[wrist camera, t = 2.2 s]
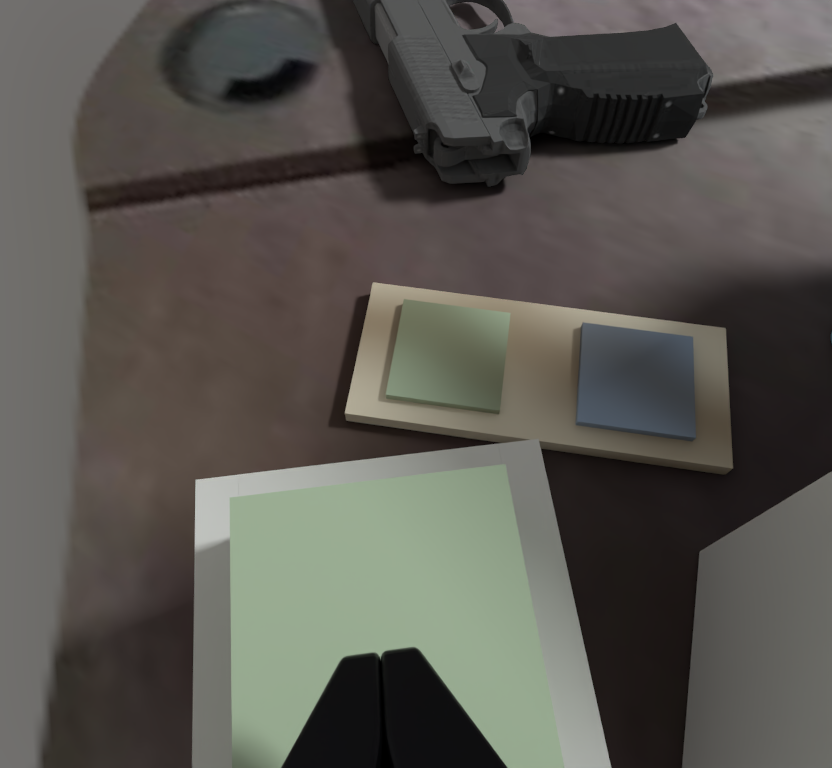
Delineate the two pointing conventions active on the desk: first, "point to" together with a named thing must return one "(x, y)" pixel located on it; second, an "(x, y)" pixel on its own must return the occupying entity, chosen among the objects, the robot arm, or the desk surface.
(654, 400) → the board
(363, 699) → the robot arm
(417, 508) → the green key
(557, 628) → the keypad
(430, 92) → the handgun
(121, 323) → the desk surface
